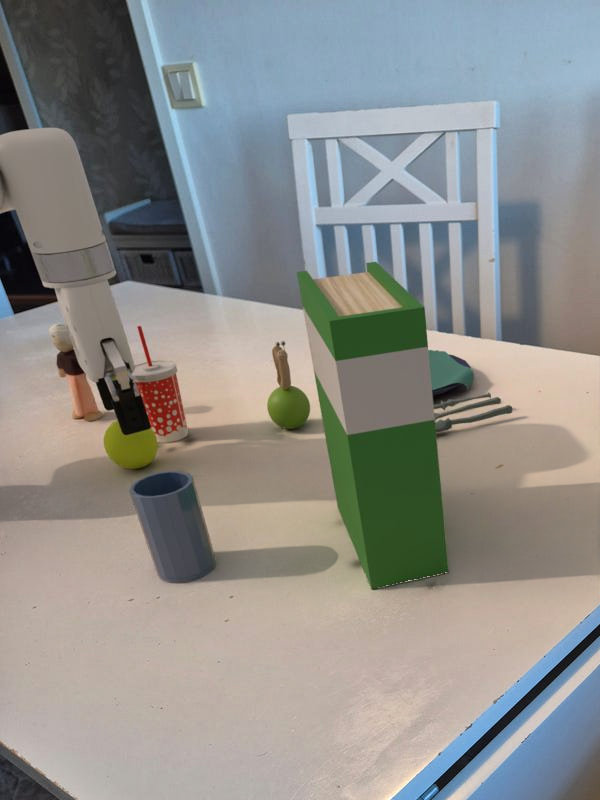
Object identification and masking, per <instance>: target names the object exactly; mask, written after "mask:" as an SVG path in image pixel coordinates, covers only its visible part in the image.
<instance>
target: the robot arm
mask: <svg viewBox="0 0 600 800" xmlns="http://www.w3.org/2000/svg"><path fill="white" fill-rule="evenodd" d="M10 211H15V212H16V215H17V217H18V220H19V223H20V226H21V229H22V231H23V234H24V237H25V240H26V242H27V245H28V248H29V250H30V253H31V256H32V259H33V261H34V264H35V267H36V270H37V272H38V275H39V278H40V280H41V283H42V286H43V287H44V288H49V289H54V291H55V295H56V299H57V302H58V305H59V309H60V313H61V315H62V319H63V321H64V324H65V325H66V327H67V330H68V333H69V335H70V338H71V341H72V344H73V347H74V348H73V349H74V351H75V354H76V357H77V360H78V363H79V365H80V367H81V368H82V369H83V371H84V372H85V374H86V377H88V379H89V380H90V381H91V382H92V383H95V385H96V388H97V391H98V394H99V396H100V399H101V402H102V405H103V407H104V409H105V410H106V411H114V413H115V417H116V421H117V420H118V423H119V425H120V428H121V431H122V433H123V434H124V435H129V434H133V433H137V432H141V431H144V430H148V429H150V428H151V424H150V421H149V418H148V415H147V412H146V409H145V406H144V403H143V400H142V396H141V394H140V393H139V391H138V388H137V386H136V384H135V381H134V379H133V377H132V373H133V372H134V370H135V366H134V365H135V361H134V359H133V355H132V351H131V347H130V345H129V344H130V343H129V341H128V338H127V335H126V332H125V331H126V330H125V328H124V325H123V321H122V319H121V316H120V313H119V309H118V307H117V304H116V300H115V298H114V295H113V291H112V289H111V286H110V283H109V280H110V279H112V278H114V277H115V276H116V275H117V270H116V268H115V264H114V259H113V258H112V254H111V251H110V247H109V244H108V242H107V238H106V236H105V232H104V229H103V226H102V223H101V219H100V216H99V214H98V210H97V206H96V204H95V201H94V198H93V194H92V190H91V187H90V185H89V181H88V178H87V175H86V172H85V169H84V166H83V163H82V159H81V156H80V153H79V150H78V147H77V145H76V142H75V140H74V139H73V137H72V135H71V134H70V133H68V131H66V130H65V129H63V128H59V127H35V128H29V129H27V128H26V129H20V130H13V131H9V132H6V133H2V134H0V214H4V213H5V212H10Z"/></svg>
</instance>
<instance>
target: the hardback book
mask: <svg viewBox="0 0 600 800" xmlns="http://www.w3.org/2000/svg"><path fill="white" fill-rule="evenodd" d="M365 264H366V271H365V272H357V273H351V274H344V275H337V276H336V275H335V276H327V277H321V278H313V277H312V276H311V275H310V273H309V272H308V270H301V271H296V276H297V282H298V288H299V294H300V299H301V305H302V310H303V316H304V321H305V328H306V333H307V339H308V344H309V345H308V346H309V350H310V356H311V361H312V362H311V363H312V368H313V374H314V380H315V384H316V385H315V386H316V391H317V396H318V401H319V409H320V413H321V419H322V426H323V431H324V436H325V443H326V447H327V453H328V459H329V464H330V471H331V476H332V483H333V488H334V493H335V500H336V507H337V509H338V512H339V514H340V516H341V519H342V521H343V524H344V526H345V528H346V532H347V534H348V536H349V538H350V541H351V543H352V546H353V548H354V550H355V553H356V556H357V558H358V560H359V563H360V565H361V567H362V570H363V572H364V575H365V574H366V575H365V577H366V579H368V580H367V582H368V584H369V587H370V589H371V590H372V589H373V590H375V589H374V588H378V587H383V586H386V585H392V584H396V583H400V582H405V581H408V580H414V579H419V580H421V579H420V578H423V577H427V576H433V575H437V574H441V573H445V572H449V573H450V570H449V559H448V547H447V537H446V526H445V517H444V516H445V515H444V506H443V493H442V483H441V473H440V471H441V470H440V460H439V451H438V450H439V449H438V440H437V439H438V438H437V433H436V427H435V423H436V420H435V417H434V413H435V409H434V406H433V405H434V396H433V395H432V384H431V373H430V362H429V351H428V350H429V341H428V329H427V320H426V319H427V318H426V312H425V311H426V309H425V306H424V305H422V303H421V302H419V300H417V299H416V298H415V296H414V295H412V294H411V293H410V292H409V291H408V290H407V289H406V288H405V287H404V286H403V285H401V284H400V283H399V282H398V281H397V280H396V279H395V278H394V277H393V276H392V275H391V274H390V273H388V272H387V270H386V269H384V268H383V267H382V266H381V265H380V264H379V263H378V262H377V261H371V262H366V263H365ZM433 577H434V576H433ZM396 585H397V584H396ZM392 586H393V585H392ZM383 588H384V587H383ZM378 589H379V588H378Z"/></svg>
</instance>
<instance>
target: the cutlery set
mask: <svg viewBox="0 0 600 800" xmlns="http://www.w3.org/2000/svg"><path fill="white" fill-rule="evenodd" d="M428 351H429V362H430V373H431V384H432V395H433V397H434V396H438V395H441V394H444V393H446V392H448V391H451V390H453V389H454V388H456V387H458V386H461V385H464V386H466V390H468V389H470V387H471V386H472V384H473V383H474V379H475V373H474V371H473V369H472V367H471V365H470V364H469V363H468V362H467V361H466V359H463V358H461V357H459V356H456V355H454V354H449V353H448V352H447V351H444V350H433V349H428ZM485 398H487V399H485ZM488 398H489V399H488ZM479 399H485V400H481V401H477V402H474V403H469V404H466V405H463V406H461V407H457V408H455V409H452V410H449V411H446V408H448V407H455V406H456V405H458V404H459V403H464V402H465V403H466V402H469V401H473V400H479ZM500 404H502V398H500V397H499V396H495V397H493V398H492V394H491V393H490V392H488V393H485V394H480V395H478V396H477V395H476V396H473V397H472V396H471V397H466V398H462V399H452V398H449V399H448V400H445V401H443V400H440V403H439V404H438V403H437V404H433V406H434V410H439V409H442V410H443V411H446V412H443V413H441V414H440V413H438V412H434V417H435V427H436V434H437V433H442V432H446V431H449V430H451V429H452V428H453V425H454V426H455V425H460V424H471V423H475V422H480V421H484V420H487V419H488V420H489V419H491V418H495V417H497V416H503V415H510V414H512V413H513V406H512V405H510V404H507V405H505V406H501V407H498V408H497V407H496V408H494V409H491V410H488V411H486V412H483V413H479V414H475V415H472V416H469V417H460V418H454V419H450V418H449V417H447V416H451V415H454V414H459V413H461V412H465V411H468V410H474V409H478V408H483V407H488V406H494V405H500ZM444 417H447V418H446V419H444V420H443V419H441V418H444ZM437 420H438V421H437Z"/></svg>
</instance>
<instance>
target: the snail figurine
mask: <svg viewBox="0 0 600 800" xmlns="http://www.w3.org/2000/svg"><path fill="white" fill-rule="evenodd" d="M274 345H275V346H273V348H272V350H271V354H272V359H273V363H274V366H275V369H276V375H277V376H276V377H277V378H276V382H277V383H278V385H279V387H276V388H275V389H274V390H273V391H272V392H271V393H270V395H269V396H268V399H267V404H266V405H267V408H266V409H267V413H268V415H269V418H270V419H271V420H272V421H273V423H274V424H275V425H277V426H278V427H281V428H283V429H287V430H293V429H297V428H300V427H301V426H303V425H304V424H305V423H306V422H307V421H308V419H309V417H310V413H311V403H310V400H309V398H308V396H307V394H306V393H305V392H304V391H303V390H302V389H300V388H299V387H297V386H294V385H292V379H291V369H290V368H291V367H290V365H289V361H288V360H289V359H288V353H287V351H286V349H285V346H286V342H285V340H282V341H280V342H279V341H276V342H275V344H274ZM281 346H282V347H281Z"/></svg>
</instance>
